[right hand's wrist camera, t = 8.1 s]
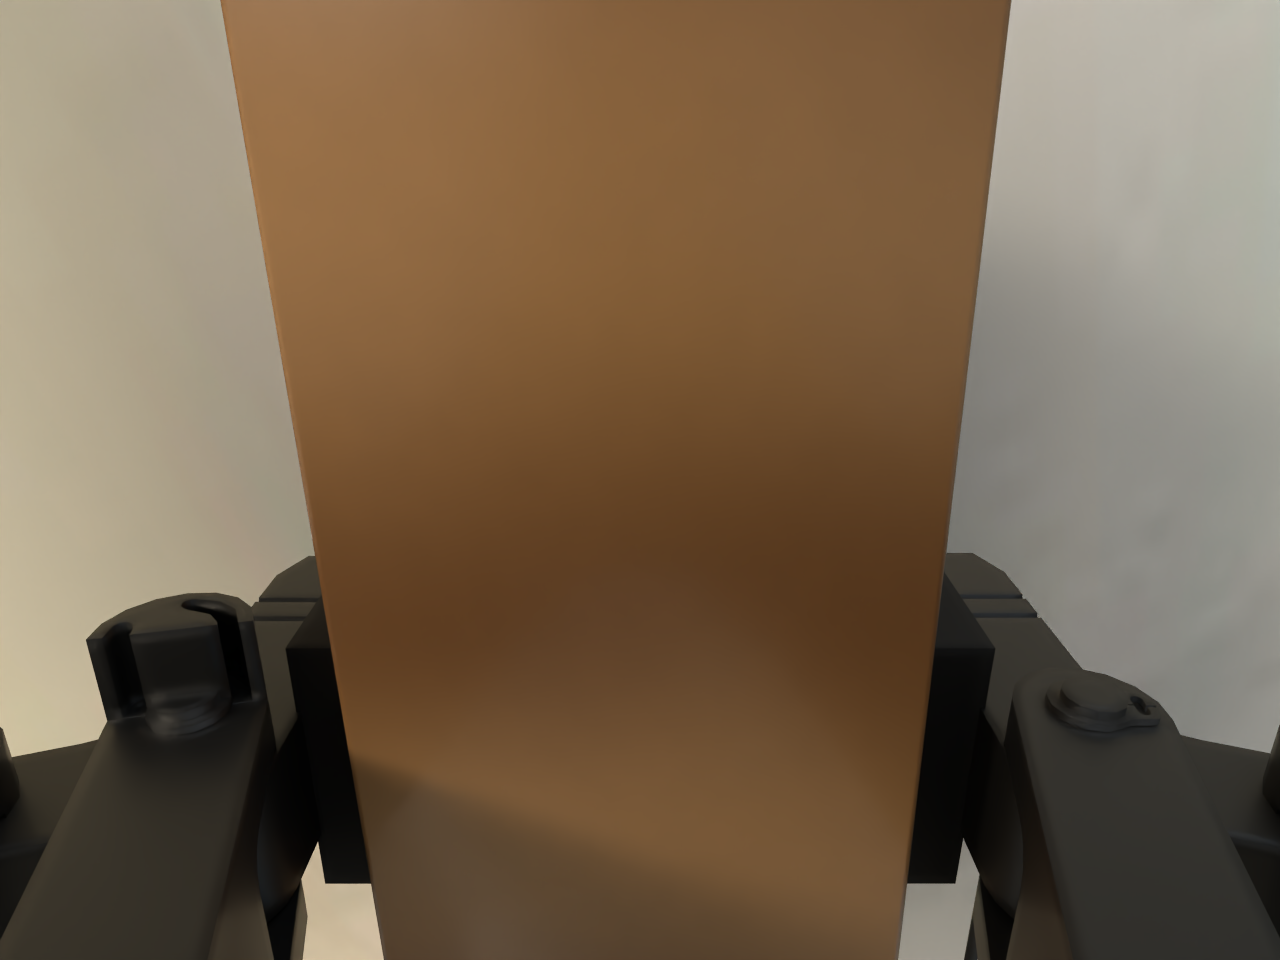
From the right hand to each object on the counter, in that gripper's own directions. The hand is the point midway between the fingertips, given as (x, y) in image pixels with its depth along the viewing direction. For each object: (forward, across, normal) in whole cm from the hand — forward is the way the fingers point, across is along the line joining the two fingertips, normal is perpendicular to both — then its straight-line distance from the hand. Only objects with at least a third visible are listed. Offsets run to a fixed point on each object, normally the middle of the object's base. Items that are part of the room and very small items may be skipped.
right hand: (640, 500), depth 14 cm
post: (+1, 0, -20) cm, 20 cm away
